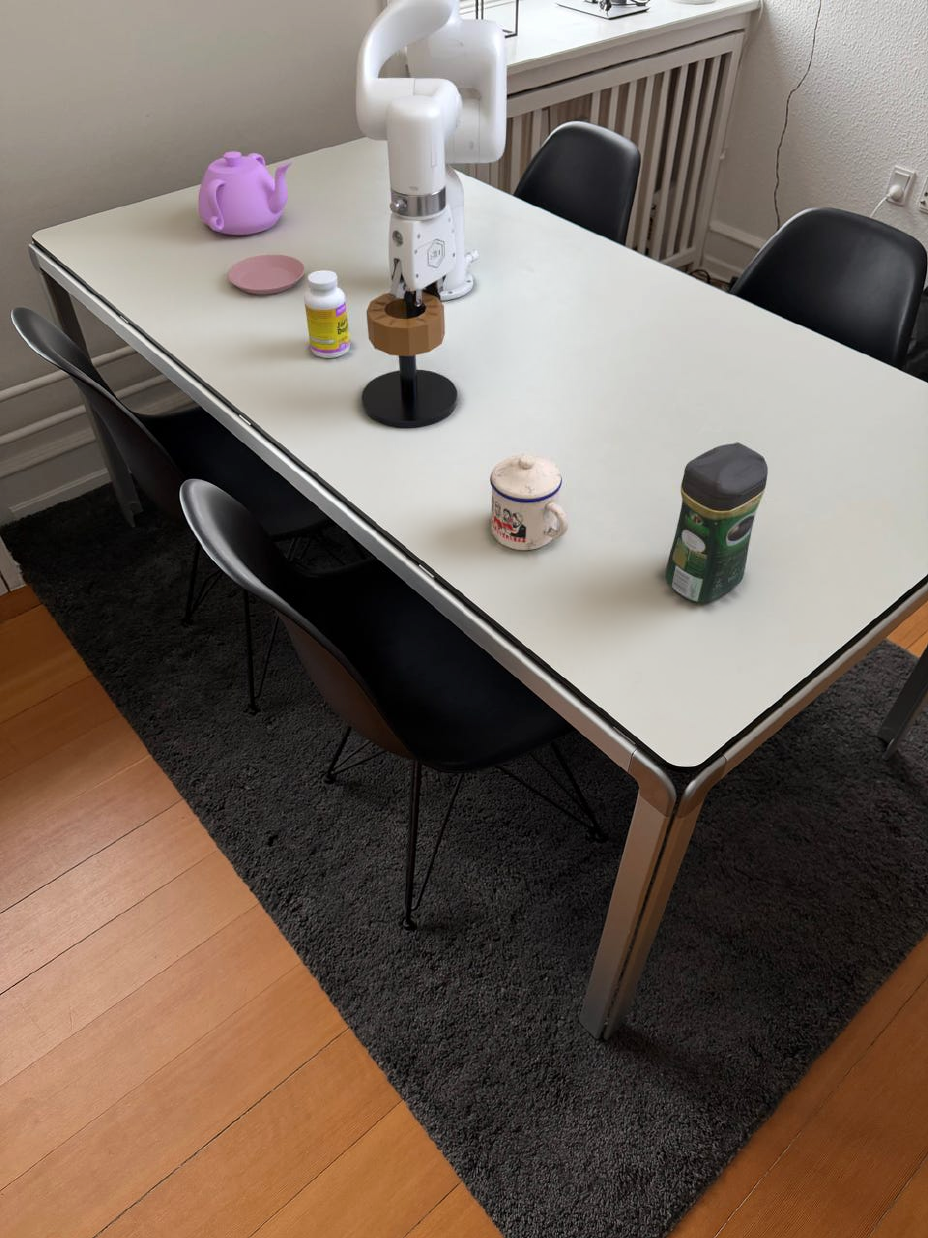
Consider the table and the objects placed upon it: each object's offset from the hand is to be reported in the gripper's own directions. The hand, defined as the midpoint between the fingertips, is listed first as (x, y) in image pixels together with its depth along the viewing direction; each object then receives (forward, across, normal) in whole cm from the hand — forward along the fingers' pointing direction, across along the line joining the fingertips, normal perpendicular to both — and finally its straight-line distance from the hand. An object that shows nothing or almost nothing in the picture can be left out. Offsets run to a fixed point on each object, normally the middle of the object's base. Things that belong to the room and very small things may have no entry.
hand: (424, 320), depth 142 cm
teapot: (+12, +26, +69) cm, 75 cm away
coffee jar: (+11, -14, -56) cm, 59 cm away
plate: (+12, +10, +48) cm, 50 cm away
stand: (+12, -4, 0) cm, 12 cm away
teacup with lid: (+11, -20, -34) cm, 41 cm away
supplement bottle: (+12, 0, +21) cm, 24 cm away
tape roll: (+1, -4, 0) cm, 4 cm away
